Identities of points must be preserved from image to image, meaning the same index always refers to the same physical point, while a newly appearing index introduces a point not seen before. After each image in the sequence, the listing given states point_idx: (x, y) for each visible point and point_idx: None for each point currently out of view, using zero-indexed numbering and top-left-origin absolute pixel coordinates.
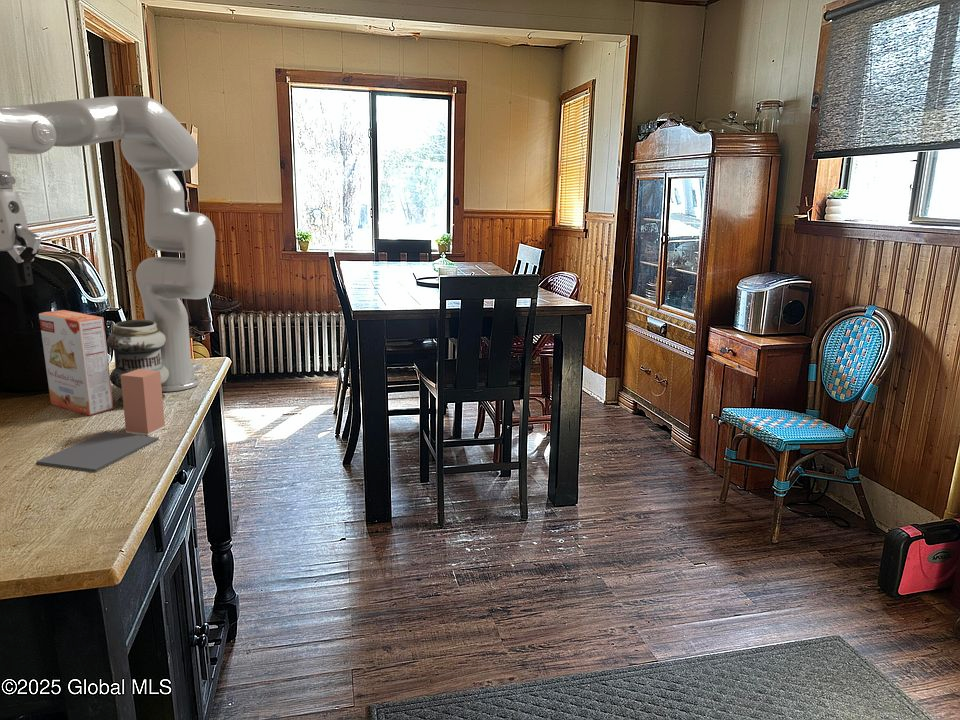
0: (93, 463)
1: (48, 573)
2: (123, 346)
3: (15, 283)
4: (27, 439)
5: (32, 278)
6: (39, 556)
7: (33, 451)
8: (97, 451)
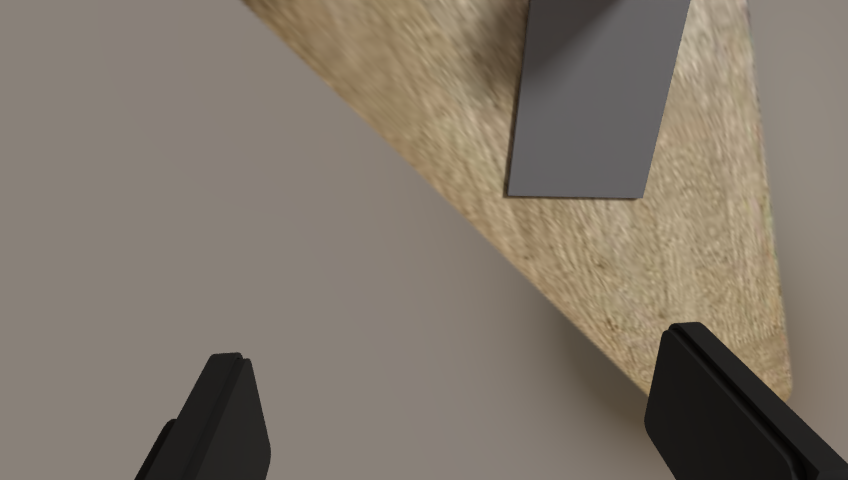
0: (623, 175)
1: None
2: None
3: (651, 438)
4: (375, 77)
5: (721, 346)
6: None
7: (448, 138)
8: (594, 116)
